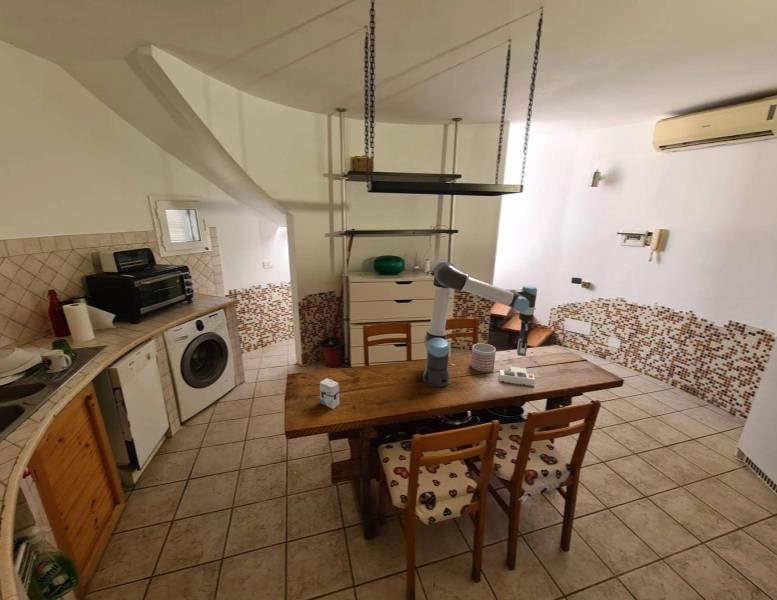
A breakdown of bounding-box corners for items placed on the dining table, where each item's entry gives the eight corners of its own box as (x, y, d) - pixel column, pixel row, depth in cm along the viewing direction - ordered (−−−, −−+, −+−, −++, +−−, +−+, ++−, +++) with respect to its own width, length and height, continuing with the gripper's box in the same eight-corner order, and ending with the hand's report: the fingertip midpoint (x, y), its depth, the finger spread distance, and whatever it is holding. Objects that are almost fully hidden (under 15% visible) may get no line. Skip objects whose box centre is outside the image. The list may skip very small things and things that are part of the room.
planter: (473, 360, 208) (474, 341, 205) (495, 364, 203) (497, 345, 199) (468, 369, 197) (470, 349, 193) (491, 374, 191) (494, 354, 187)
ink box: (320, 403, 159) (319, 382, 156) (327, 398, 163) (326, 377, 160) (332, 409, 155) (332, 387, 152) (339, 404, 159) (339, 383, 156)
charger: (517, 355, 190) (519, 340, 187) (516, 352, 194) (518, 338, 192) (525, 356, 189) (527, 341, 186) (524, 353, 193) (526, 338, 190)
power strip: (499, 381, 183) (500, 373, 182) (499, 375, 189) (499, 368, 188) (534, 386, 179) (535, 378, 177) (532, 380, 185) (533, 372, 183)
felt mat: (511, 374, 191) (511, 373, 191) (509, 367, 200) (510, 366, 200) (527, 376, 189) (527, 375, 189) (525, 369, 197) (525, 368, 197)
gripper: (536, 318, 175) (530, 358, 182) (531, 309, 192) (526, 345, 198) (521, 317, 177) (516, 356, 184) (517, 308, 194) (513, 344, 200)
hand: (521, 350), depth 191 cm, fingers closed on charger, 4 cm apart
